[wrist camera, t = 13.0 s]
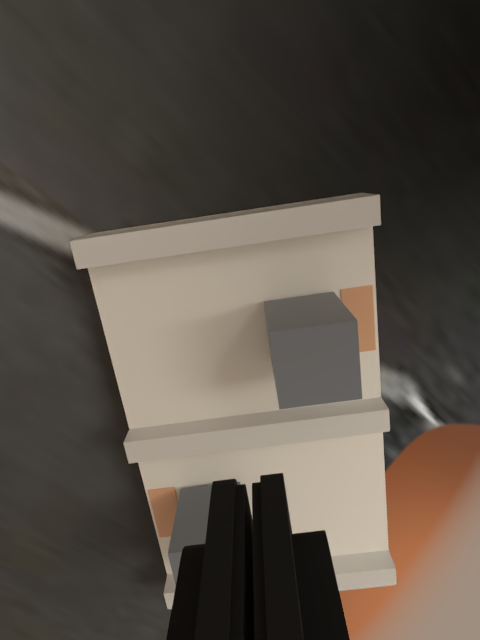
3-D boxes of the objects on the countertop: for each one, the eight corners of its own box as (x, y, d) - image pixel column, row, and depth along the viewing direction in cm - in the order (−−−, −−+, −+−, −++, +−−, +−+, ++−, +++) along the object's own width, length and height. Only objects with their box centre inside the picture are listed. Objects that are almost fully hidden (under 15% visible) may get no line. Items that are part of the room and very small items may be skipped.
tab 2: (333, 291, 24) (357, 320, 19) (338, 356, 26) (362, 398, 21) (263, 301, 24) (269, 332, 20) (272, 365, 26) (279, 409, 21)
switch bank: (361, 192, 25) (379, 194, 22) (380, 543, 33) (396, 584, 30) (91, 233, 26) (69, 241, 22) (174, 566, 34) (167, 609, 30)
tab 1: (240, 481, 28) (239, 545, 23) (248, 529, 30) (249, 600, 25) (180, 488, 29) (167, 553, 24) (191, 536, 30) (181, 607, 25)
